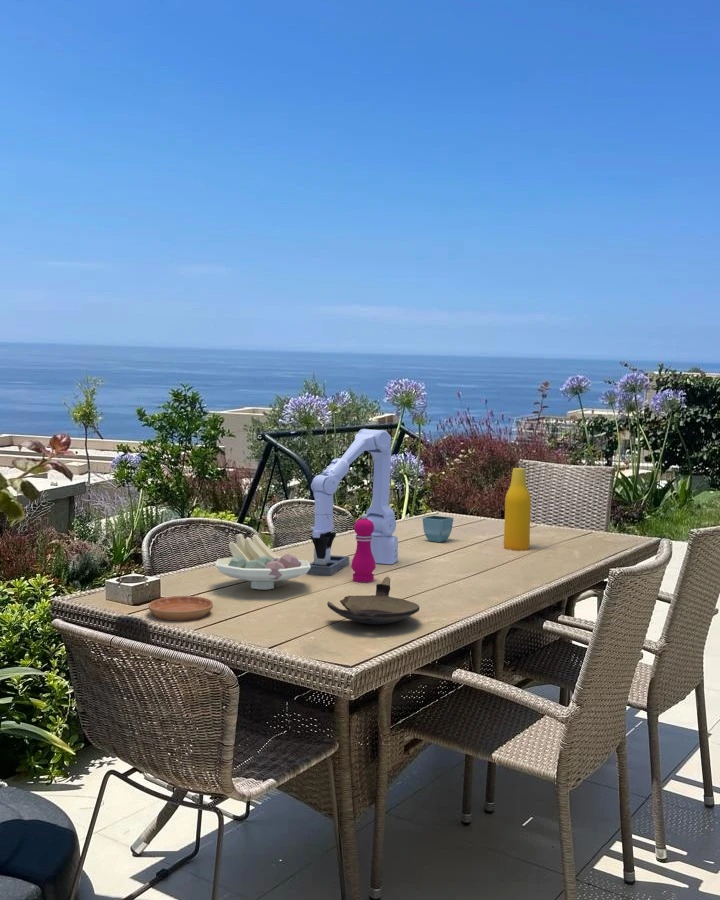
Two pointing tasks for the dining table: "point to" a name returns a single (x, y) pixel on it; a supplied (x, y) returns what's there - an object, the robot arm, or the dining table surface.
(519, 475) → the beer bottle
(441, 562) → the dining table surface
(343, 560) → the blue-grey frame board
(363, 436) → the robot arm
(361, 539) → the pepper mill
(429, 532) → the flower pot
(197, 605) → the saucer
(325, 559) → the grey metal block
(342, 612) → the oil lamp
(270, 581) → the dish with food
